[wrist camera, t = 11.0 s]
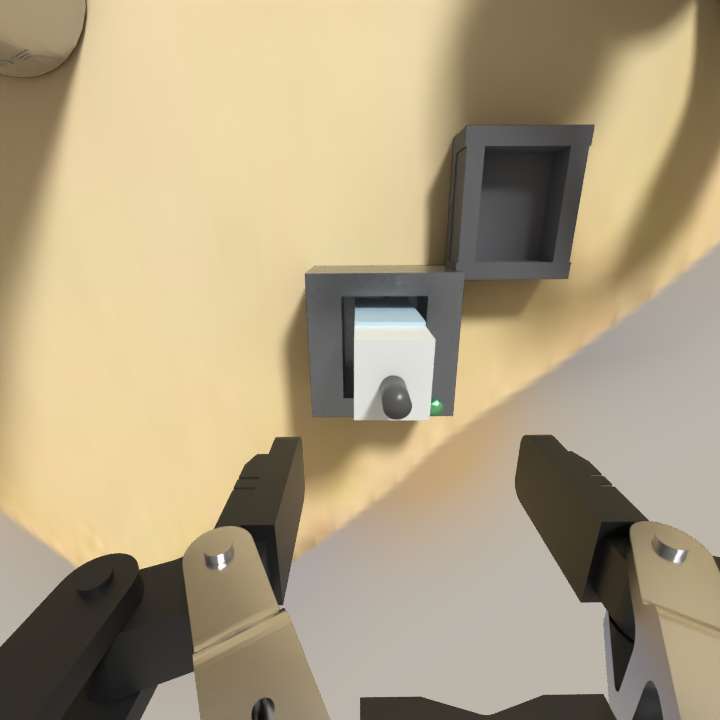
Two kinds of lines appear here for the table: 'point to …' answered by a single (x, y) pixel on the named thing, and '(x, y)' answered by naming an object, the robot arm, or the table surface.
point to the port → (337, 321)
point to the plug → (391, 361)
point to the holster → (515, 200)
